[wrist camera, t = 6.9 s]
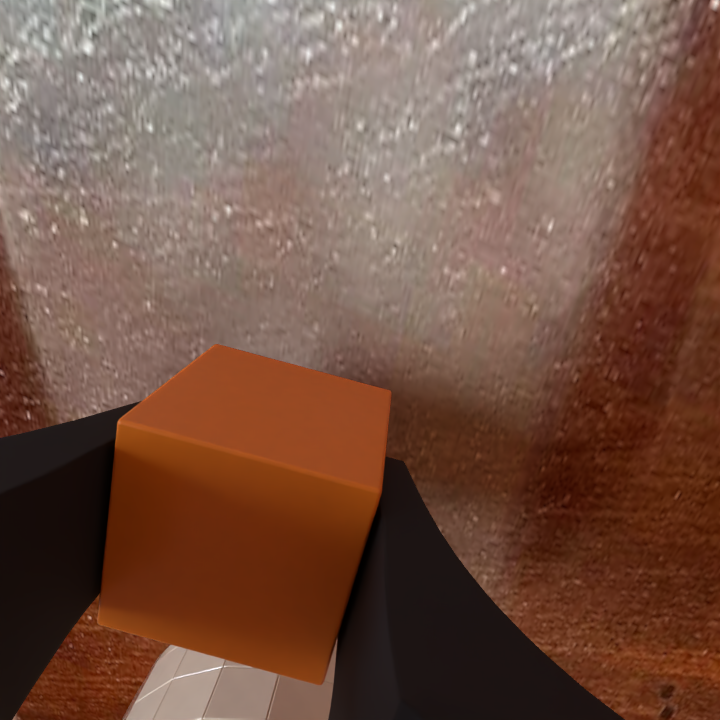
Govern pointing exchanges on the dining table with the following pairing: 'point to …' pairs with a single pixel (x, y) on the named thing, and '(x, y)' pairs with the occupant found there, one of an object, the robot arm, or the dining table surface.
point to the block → (244, 510)
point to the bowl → (226, 691)
